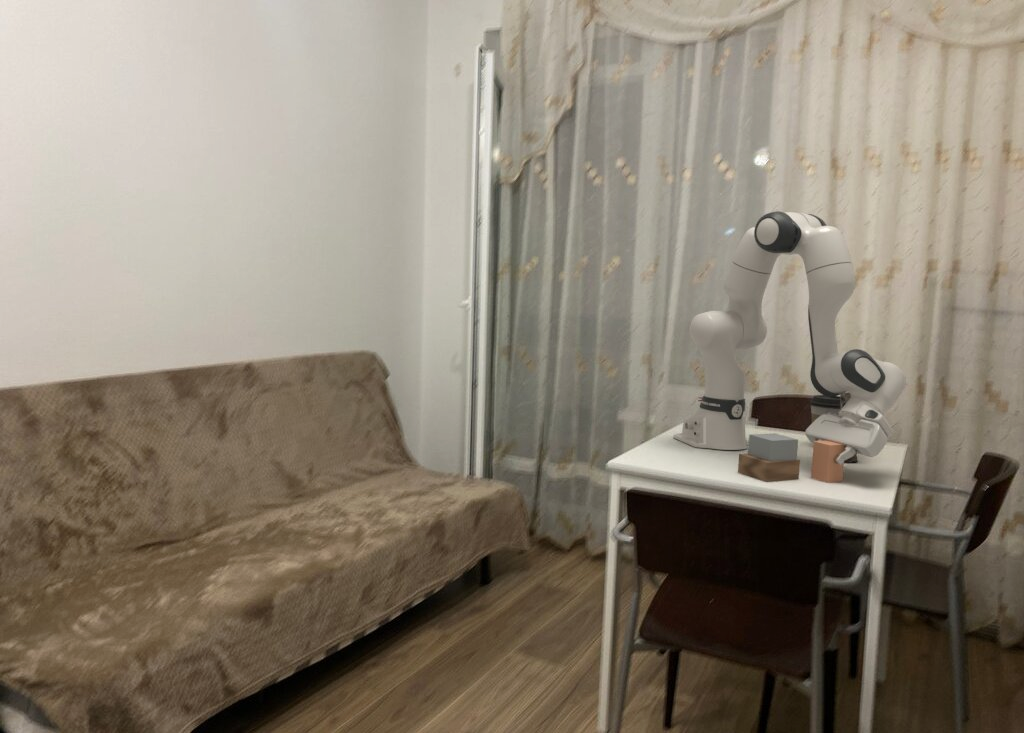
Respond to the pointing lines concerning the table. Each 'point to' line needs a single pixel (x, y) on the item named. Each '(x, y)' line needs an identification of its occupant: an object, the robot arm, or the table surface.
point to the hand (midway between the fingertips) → (826, 459)
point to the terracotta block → (826, 461)
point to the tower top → (773, 447)
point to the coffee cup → (824, 405)
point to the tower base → (768, 468)
